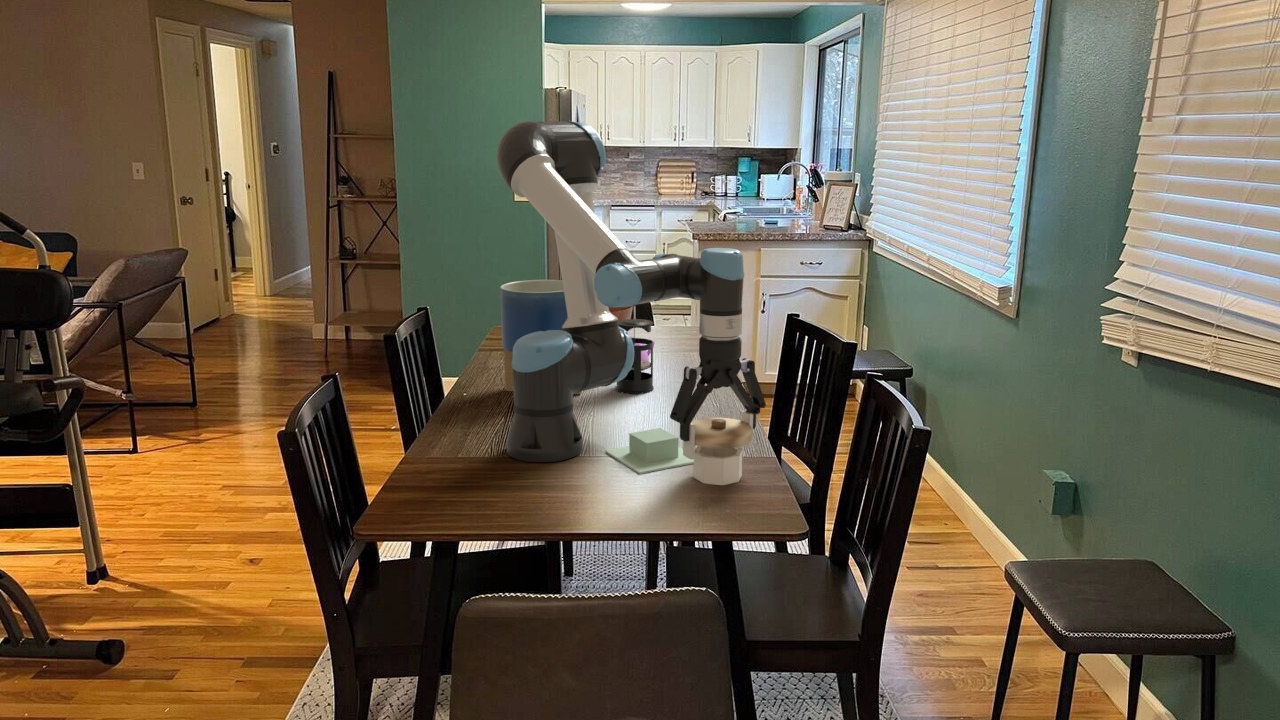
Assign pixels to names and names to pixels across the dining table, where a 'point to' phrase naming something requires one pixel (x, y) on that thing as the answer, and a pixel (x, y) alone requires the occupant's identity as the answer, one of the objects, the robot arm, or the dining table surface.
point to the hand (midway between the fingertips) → (718, 451)
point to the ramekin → (717, 465)
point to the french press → (637, 360)
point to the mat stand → (651, 451)
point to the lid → (721, 433)
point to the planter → (529, 314)
